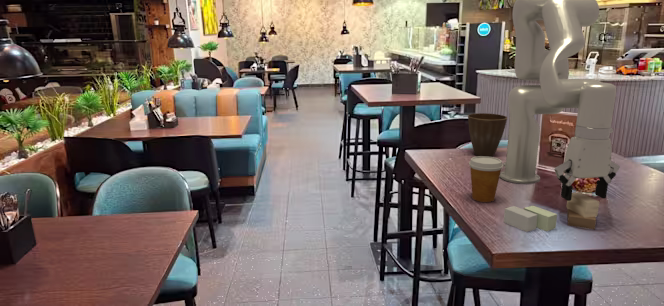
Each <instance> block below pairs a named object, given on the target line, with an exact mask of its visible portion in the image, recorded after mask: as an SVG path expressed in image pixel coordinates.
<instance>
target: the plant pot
mask: <svg viewBox="0 0 664 306" xmlns="http://www.w3.org/2000/svg"><path fill="white" fill-rule="evenodd" d="M467 121H468V131H469V136H470V137H469V138H470V142H471V147H472V150H473V153H474V156H476V157H478V156H487V157H494V155H495V154H496V151H497V149H498V148H499V145H500V142H501V140H502V138H503V135H504V132H505V129H506V125H507V121H508V116H506V115H504V114H503V115H502V114H497V113H488V112H487V113H486V112H484V113H483V112H482V113H481V112H480V113H479V112H478V113H470V114H468V115H467Z"/></svg>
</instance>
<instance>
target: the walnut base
mask: <svg viewBox="0 0 664 306" xmlns="http://www.w3.org/2000/svg"><path fill="white" fill-rule="evenodd" d="M566 214H567V226H569V227H575V228H581V229H587V230H594V231H595V229H596V225H597V224H596V223H597V218H596V217H586V218H585V217H583V216H581V215H579V214H577V213H576V212H574V211H572V210H570V209H568V208H567V213H566Z"/></svg>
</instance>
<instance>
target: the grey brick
mask: <svg viewBox="0 0 664 306" xmlns="http://www.w3.org/2000/svg"><path fill="white" fill-rule="evenodd" d="M503 215H504V216H503V223H504V224H506V225H509V226H511V227H513V228H516V229H519V230H521V231H523V232H524V233H525V232H526V233H528V232H531V231H535V230H536V229H537V227H536V224H537V214H534V213H531V212H529V211H526V210H524V208H520V207H517V206H515V205H512V206H510V207H507V208H506V207H505V208H504V214H503Z"/></svg>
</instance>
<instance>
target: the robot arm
mask: <svg viewBox="0 0 664 306" xmlns="http://www.w3.org/2000/svg"><path fill="white" fill-rule="evenodd" d="M599 14H600V7H599V3H598V1H597V0H515V1H514V4H513V8H512V23H513V28H514V32H515V52H514V55H515V56H514V73H515V76H516V78H517V79H519V80H521V81H529V82H531V81H532V82H533V81H534V82H535V81H539V84H523V85H518V86H515V87H513V88H512V89H511V90H510V91H509V93H508V99H507V100H508V101H507V102H508V111H509V112H508V113H509V121H508V134H507V147H506V148H507V149H506V158H505V161H504V162H502V164H503V167H504V170H503V171H501V172H500V176H499V178H501V179H502V180H504V181H505V182H509V183H514V184H518V185H519V184H521V185H529V184H536V183H539V182H541V177H540V175H538V174H537V173H536V171H537V163H538V162H537V161H538V153H539V145H540V144H539V143H540V134H541V126H540V124H539V122H538V121H537V119H536V118H535V115H536V116H537V115H554V114H559V113H561V112H562V111H563V110H564V109H577V115H576V123H575V130H574V136H572V137H571V138H570V139H569V142H568V146H567V149H566V152H565V156H564V160H563V163H560V164H559V165H557V166H556V167H554V172H555V175H556V178H557V179H558V180H559V182H560V183H561V191H560V197H561V198H562V199H564V200H566V202H567V201H571V198H572V193H573V189H574V186H573V185H572V184H573V183H574V182H575V181H576V180H577V179H593V178H595V179H596V178H598V179H597V180H596V184H595V192H594V195H595V196H597V197H599V198H601V199H607V193H608V187H609V185H610V184H611V183H612V180H613V179H614V178H615V177H616V176H617V173H618V171H619V170H620V168H621V165H619V164H617V163H615V162H613V161H612V152H613V151H612V149H613V148H612V139H611V138H610V136H611V134H612V133H614V128H613V127H612V123H613V116H614V111H615V110H614V109H615V104H616V103H615V102H616V97H617V86H616V85H614V84H613V83H610V82H602V81H600V80H598V79H594V78H593V79H592V78H569V75H570V73H569V71H570V63H569V59H568V58H570V57H572V56H574V55H576V54H578V53H579V52H581V50H583V48H584V47H585V44H586V39H585V36H584V33H583V28H588V27H591V26H593V25H594V24H595V23H596V22H597V20H598V18H599V16H600V15H599ZM537 21H543V25H544V29H545V32H544V30H543V28H542V26H541V25H540V24H539V23H538V22H537ZM546 37H547V42H548V46H549V50H548V49H547V50H546V47H545V46H546Z"/></svg>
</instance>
